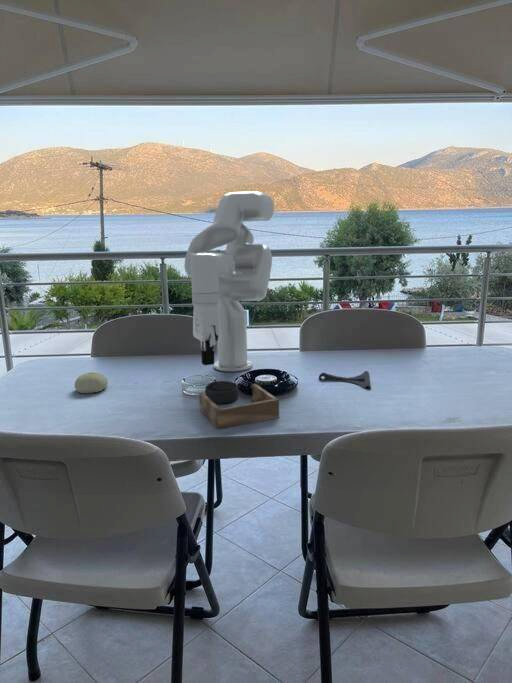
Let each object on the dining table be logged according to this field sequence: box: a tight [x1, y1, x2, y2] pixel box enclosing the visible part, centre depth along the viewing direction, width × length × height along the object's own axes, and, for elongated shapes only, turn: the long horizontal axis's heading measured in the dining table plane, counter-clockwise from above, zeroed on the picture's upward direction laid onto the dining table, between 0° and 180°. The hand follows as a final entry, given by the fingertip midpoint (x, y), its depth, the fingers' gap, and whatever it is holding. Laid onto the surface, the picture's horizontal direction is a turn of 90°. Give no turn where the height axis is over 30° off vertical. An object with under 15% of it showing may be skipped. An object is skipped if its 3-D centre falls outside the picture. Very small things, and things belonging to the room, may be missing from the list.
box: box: [198, 383, 280, 430], centre depth 119 cm, size 14×16×4 cm
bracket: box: [318, 370, 372, 390], centre depth 143 cm, size 14×15×3 cm
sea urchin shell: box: [73, 371, 109, 394], centre depth 140 cm, size 9×8×8 cm
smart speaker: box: [204, 380, 239, 405], centre depth 130 cm, size 9×9×4 cm
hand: (208, 363), depth 136 cm, fingers closed
